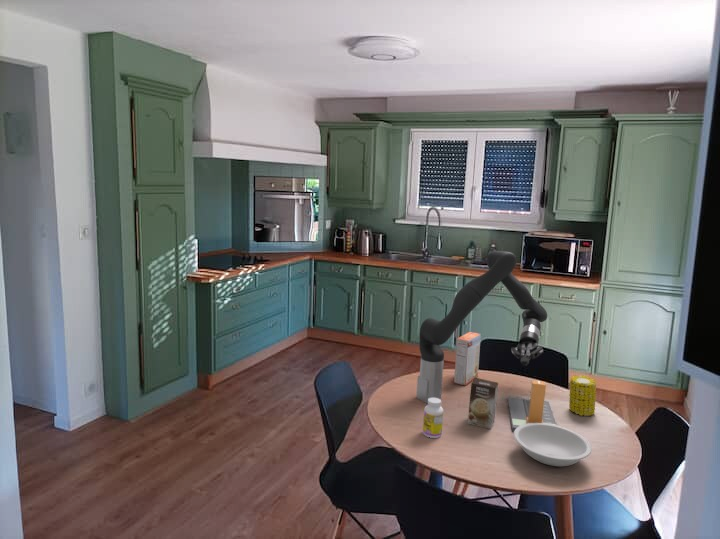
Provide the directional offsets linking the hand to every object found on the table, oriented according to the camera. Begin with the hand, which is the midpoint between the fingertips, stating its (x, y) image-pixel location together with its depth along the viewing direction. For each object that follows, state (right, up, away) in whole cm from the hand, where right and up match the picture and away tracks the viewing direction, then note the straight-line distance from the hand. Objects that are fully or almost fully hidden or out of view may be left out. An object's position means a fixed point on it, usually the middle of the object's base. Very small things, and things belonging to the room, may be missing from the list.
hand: (524, 363), depth 203 cm
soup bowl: (-2, -25, -32) cm, 41 cm away
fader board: (+2, -20, -3) cm, 20 cm away
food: (+24, -20, +4) cm, 31 cm away
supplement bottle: (-39, -21, -20) cm, 49 cm away
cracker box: (-16, -13, +32) cm, 38 cm away
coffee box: (-19, -21, -10) cm, 30 cm away
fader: (0, -20, -13) cm, 23 cm away
